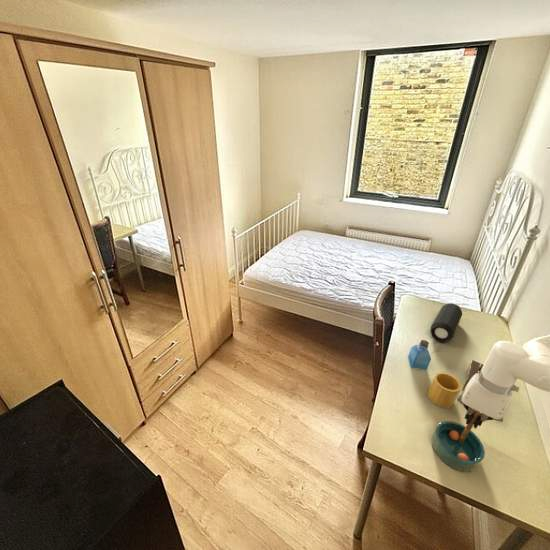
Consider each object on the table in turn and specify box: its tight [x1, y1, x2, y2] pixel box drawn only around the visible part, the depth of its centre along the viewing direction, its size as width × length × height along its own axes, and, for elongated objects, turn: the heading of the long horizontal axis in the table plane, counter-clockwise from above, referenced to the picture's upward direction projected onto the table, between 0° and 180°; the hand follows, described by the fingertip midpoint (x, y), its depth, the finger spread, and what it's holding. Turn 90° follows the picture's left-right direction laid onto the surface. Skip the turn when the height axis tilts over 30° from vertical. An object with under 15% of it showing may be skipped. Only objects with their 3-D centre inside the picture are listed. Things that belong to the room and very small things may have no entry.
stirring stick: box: [458, 409, 481, 444], centre depth 91 cm, size 1×1×16 cm
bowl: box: [431, 420, 486, 473], centre depth 93 cm, size 14×14×5 cm
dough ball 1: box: [449, 430, 460, 440], centre depth 96 cm, size 3×3×3 cm
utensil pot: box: [427, 371, 463, 409], centre depth 109 cm, size 9×9×9 cm
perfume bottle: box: [407, 339, 432, 370], centre depth 124 cm, size 6×6×12 cm
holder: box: [461, 359, 484, 391], centre depth 116 cm, size 8×13×6 cm, turn 142°
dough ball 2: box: [457, 453, 469, 461], centre depth 90 cm, size 3×3×3 cm
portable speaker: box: [429, 302, 463, 343], centre depth 145 cm, size 26×10×10 cm, turn 141°
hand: (471, 422), depth 90 cm, fingers closed on stirring stick, 1 cm apart
